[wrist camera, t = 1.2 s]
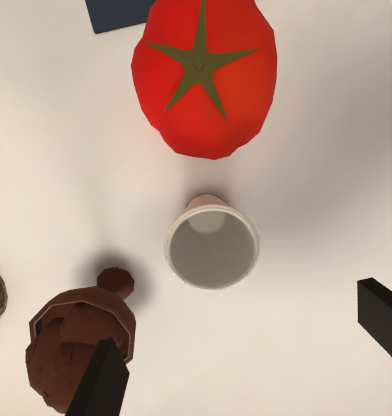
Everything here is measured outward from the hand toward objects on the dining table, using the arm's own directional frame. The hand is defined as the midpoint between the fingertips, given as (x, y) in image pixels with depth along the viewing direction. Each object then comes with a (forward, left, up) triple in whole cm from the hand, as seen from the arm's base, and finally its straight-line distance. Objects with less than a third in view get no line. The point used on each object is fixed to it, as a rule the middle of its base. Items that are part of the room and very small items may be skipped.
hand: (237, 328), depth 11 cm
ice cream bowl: (+16, +7, -18) cm, 25 cm away
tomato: (-1, -15, -18) cm, 23 cm away
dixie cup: (+1, -1, -18) cm, 18 cm away
